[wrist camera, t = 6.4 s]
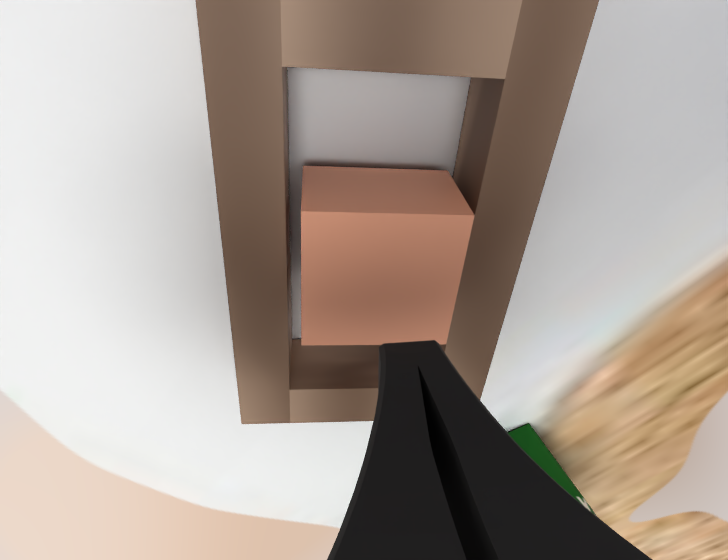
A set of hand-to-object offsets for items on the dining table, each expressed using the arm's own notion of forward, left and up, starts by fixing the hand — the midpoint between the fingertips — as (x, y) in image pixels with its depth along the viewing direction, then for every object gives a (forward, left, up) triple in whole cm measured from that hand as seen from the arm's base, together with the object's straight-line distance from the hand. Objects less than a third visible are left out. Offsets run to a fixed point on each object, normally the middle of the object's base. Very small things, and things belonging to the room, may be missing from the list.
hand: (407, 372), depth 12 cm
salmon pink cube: (0, 0, -8) cm, 8 cm away
